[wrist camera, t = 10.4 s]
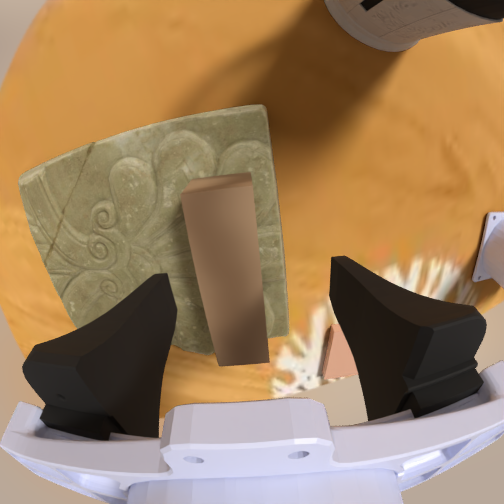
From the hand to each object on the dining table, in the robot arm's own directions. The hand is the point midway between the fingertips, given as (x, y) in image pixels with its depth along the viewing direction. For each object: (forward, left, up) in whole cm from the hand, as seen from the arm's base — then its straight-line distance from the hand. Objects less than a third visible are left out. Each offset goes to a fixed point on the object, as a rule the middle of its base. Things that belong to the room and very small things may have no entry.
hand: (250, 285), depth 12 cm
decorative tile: (+7, +2, -10) cm, 13 cm away
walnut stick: (+1, +2, -6) cm, 7 cm away
